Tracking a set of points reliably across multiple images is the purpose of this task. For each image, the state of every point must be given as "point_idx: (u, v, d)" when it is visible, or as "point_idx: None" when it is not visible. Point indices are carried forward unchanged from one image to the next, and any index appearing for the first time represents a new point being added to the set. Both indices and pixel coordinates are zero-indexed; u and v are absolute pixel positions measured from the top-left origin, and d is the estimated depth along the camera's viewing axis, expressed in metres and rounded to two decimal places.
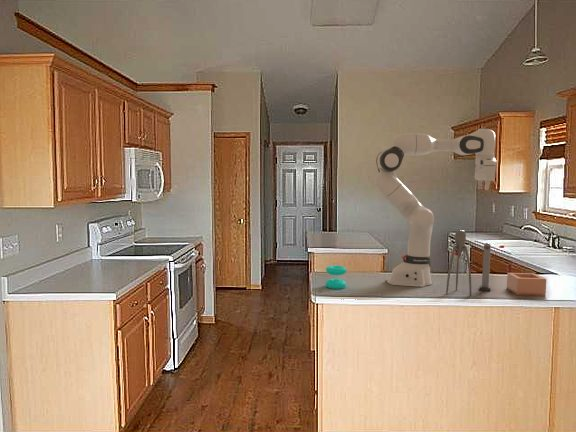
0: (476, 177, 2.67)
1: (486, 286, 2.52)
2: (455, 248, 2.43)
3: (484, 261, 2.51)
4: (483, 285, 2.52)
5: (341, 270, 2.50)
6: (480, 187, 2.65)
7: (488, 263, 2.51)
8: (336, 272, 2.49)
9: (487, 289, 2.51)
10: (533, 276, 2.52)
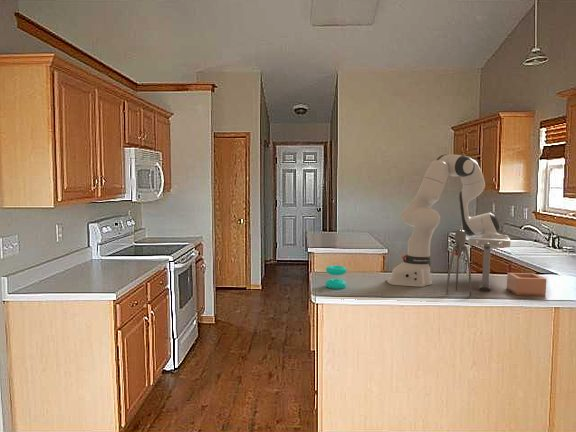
0: (475, 238, 2.70)
1: (486, 286, 2.52)
2: (455, 248, 2.43)
3: (484, 261, 2.51)
4: (483, 285, 2.52)
5: (341, 270, 2.50)
6: (479, 243, 2.65)
7: (488, 263, 2.51)
8: (336, 272, 2.49)
9: (487, 289, 2.51)
10: (533, 276, 2.52)
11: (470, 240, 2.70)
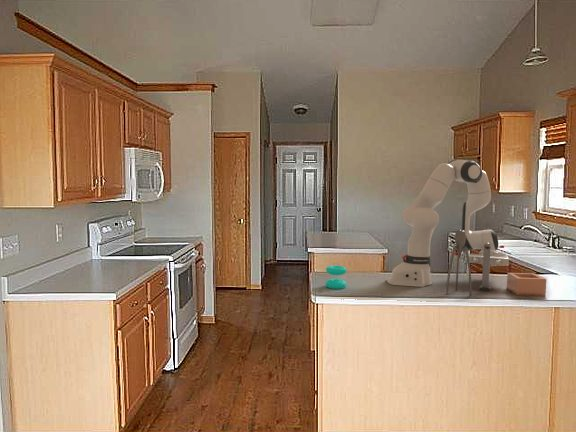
0: (473, 255, 2.64)
1: (486, 286, 2.52)
2: (455, 248, 2.43)
3: (484, 261, 2.51)
4: (483, 285, 2.52)
5: (341, 270, 2.50)
6: (477, 260, 2.58)
7: (488, 263, 2.51)
8: (336, 272, 2.49)
9: (487, 289, 2.51)
10: (533, 276, 2.52)
11: None
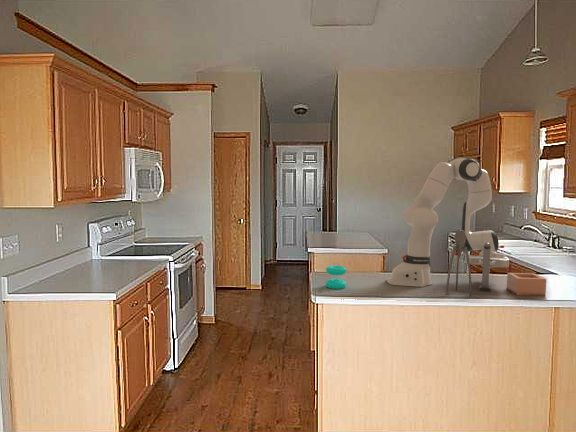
0: (473, 256, 2.59)
1: (486, 286, 2.52)
2: (455, 248, 2.43)
3: (484, 261, 2.51)
4: (483, 285, 2.52)
5: (341, 270, 2.50)
6: (482, 262, 2.53)
7: (488, 263, 2.51)
8: (336, 272, 2.49)
9: (487, 289, 2.51)
10: (533, 276, 2.52)
11: None
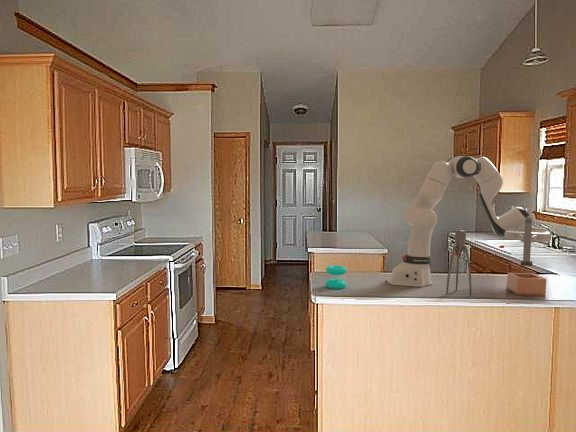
0: (512, 231, 2.54)
1: (528, 261, 2.47)
2: (455, 248, 2.43)
3: (525, 235, 2.46)
4: (524, 260, 2.47)
5: (341, 270, 2.50)
6: None
7: (530, 237, 2.46)
8: (336, 272, 2.49)
9: (529, 264, 2.46)
10: (533, 276, 2.52)
11: (507, 233, 2.54)
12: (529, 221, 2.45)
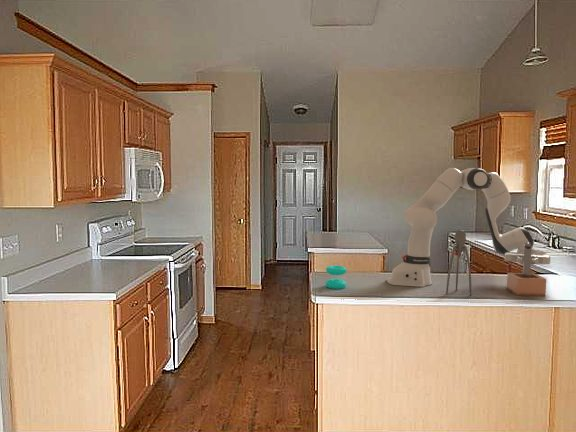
0: (512, 253, 2.55)
1: None
2: (455, 248, 2.43)
3: (525, 261, 2.47)
4: None
5: (341, 270, 2.50)
6: (522, 259, 2.49)
7: (529, 263, 2.47)
8: (336, 272, 2.49)
9: None
10: (533, 276, 2.52)
11: (507, 255, 2.55)
12: (529, 247, 2.46)
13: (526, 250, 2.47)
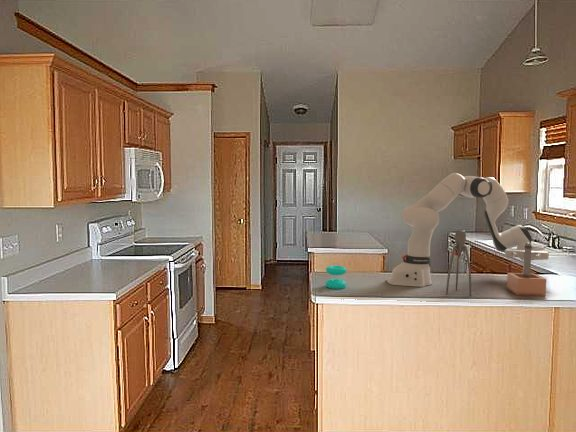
0: (512, 249, 2.67)
1: None
2: (455, 248, 2.43)
3: (525, 261, 2.47)
4: None
5: (341, 270, 2.50)
6: (517, 254, 2.61)
7: (529, 263, 2.47)
8: (336, 272, 2.49)
9: None
10: (533, 276, 2.52)
11: (507, 251, 2.67)
12: (529, 247, 2.46)
13: (526, 250, 2.47)
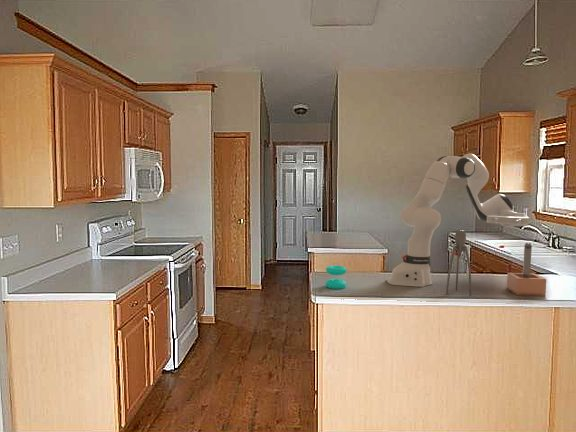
0: (494, 216, 2.73)
1: None
2: (455, 248, 2.43)
3: (525, 261, 2.47)
4: None
5: (341, 270, 2.50)
6: (498, 220, 2.68)
7: (529, 263, 2.47)
8: (336, 272, 2.49)
9: None
10: (533, 276, 2.52)
11: (489, 218, 2.73)
12: (529, 247, 2.46)
13: (526, 250, 2.47)
